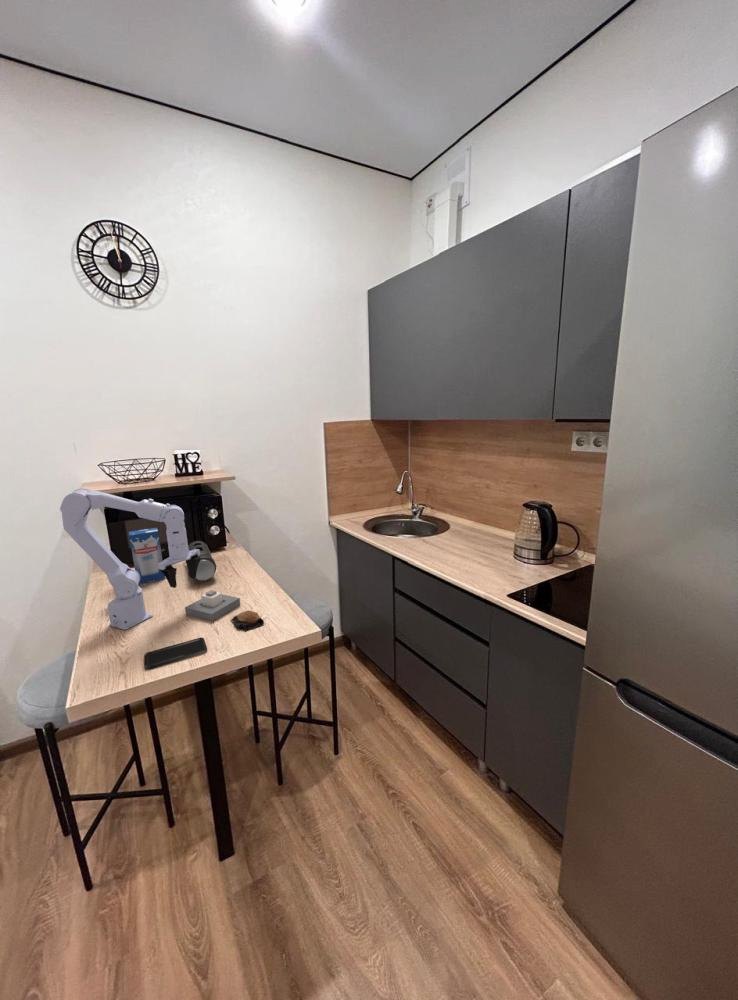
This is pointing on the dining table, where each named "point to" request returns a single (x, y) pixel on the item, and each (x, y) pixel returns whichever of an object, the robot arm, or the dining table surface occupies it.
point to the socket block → (212, 613)
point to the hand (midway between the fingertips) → (183, 582)
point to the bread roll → (247, 621)
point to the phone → (174, 653)
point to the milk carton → (146, 554)
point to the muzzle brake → (203, 561)
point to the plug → (211, 599)
